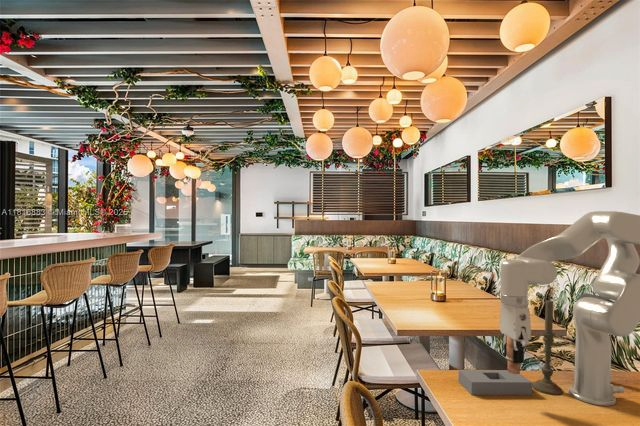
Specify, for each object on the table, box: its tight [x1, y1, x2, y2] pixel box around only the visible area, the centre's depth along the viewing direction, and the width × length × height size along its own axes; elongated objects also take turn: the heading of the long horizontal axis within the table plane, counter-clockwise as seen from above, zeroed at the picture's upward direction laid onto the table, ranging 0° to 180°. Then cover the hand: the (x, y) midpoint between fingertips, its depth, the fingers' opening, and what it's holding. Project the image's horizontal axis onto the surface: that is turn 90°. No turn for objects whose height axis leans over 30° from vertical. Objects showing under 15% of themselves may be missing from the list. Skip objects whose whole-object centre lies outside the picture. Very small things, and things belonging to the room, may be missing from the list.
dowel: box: [505, 336, 521, 374], centre depth 123 cm, size 4×4×12 cm
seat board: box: [457, 369, 533, 396], centre depth 133 cm, size 20×10×4 cm, turn 94°
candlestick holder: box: [532, 299, 563, 396], centre depth 134 cm, size 9×9×30 cm
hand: (513, 359), depth 123 cm, fingers closed on dowel, 4 cm apart
